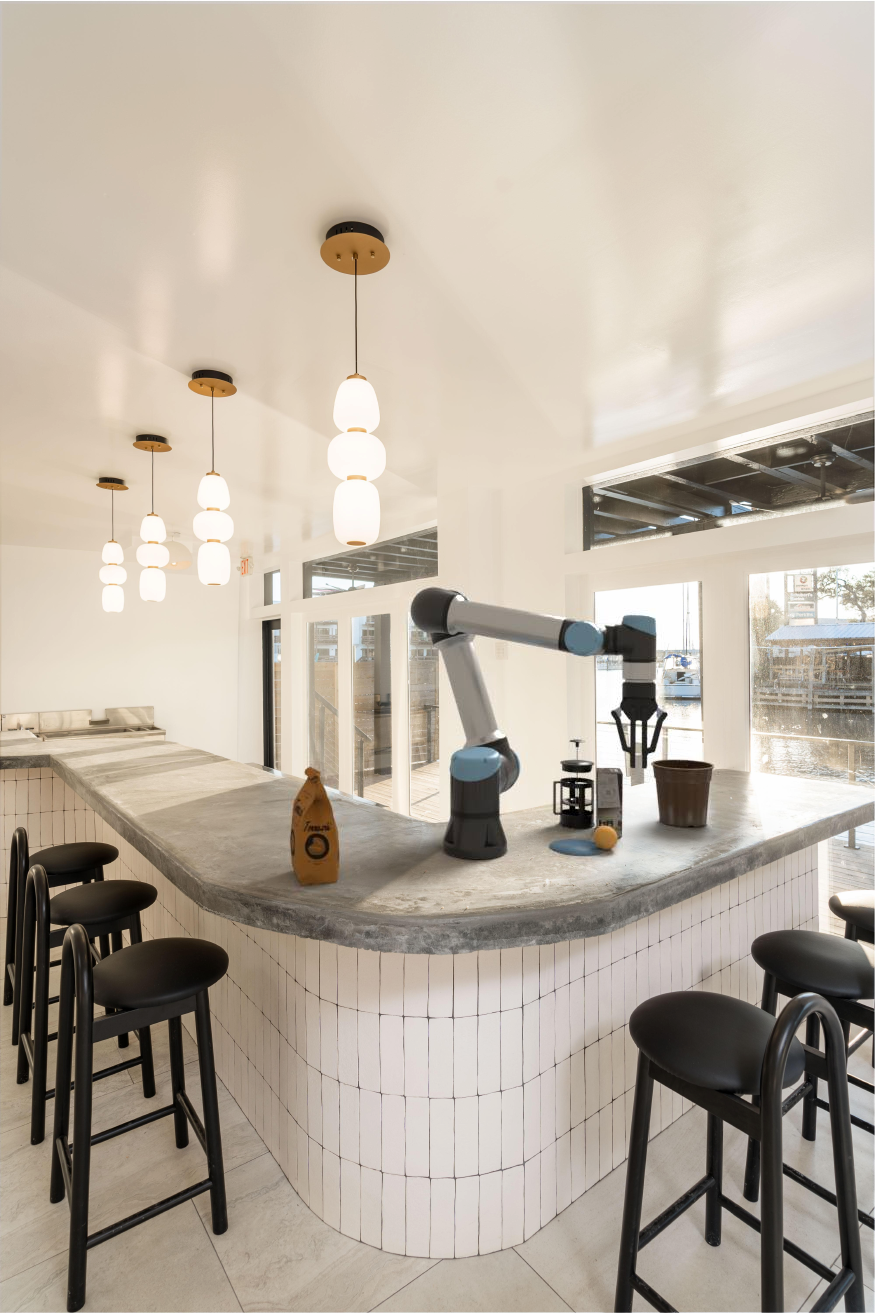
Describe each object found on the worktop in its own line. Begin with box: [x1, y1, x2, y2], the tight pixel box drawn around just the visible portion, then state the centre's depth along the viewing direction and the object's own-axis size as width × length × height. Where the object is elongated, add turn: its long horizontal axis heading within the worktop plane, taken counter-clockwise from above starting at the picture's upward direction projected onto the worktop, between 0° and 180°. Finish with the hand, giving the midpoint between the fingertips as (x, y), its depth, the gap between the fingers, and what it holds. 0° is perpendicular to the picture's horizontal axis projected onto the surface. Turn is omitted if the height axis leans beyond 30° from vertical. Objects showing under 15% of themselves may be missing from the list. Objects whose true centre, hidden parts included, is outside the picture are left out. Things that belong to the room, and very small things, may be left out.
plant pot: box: [650, 759, 715, 828], centre depth 183 cm, size 16×16×16 cm
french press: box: [552, 738, 596, 830], centre depth 180 cm, size 12×9×23 cm
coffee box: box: [595, 767, 624, 838], centre depth 173 cm, size 9×6×16 cm
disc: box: [549, 838, 606, 857], centre depth 159 cm, size 13×13×1 cm
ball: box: [593, 826, 618, 851], centre depth 158 cm, size 6×6×6 cm
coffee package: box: [289, 766, 340, 886], centre depth 139 cm, size 10×12×22 cm
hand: (638, 782), depth 155 cm, fingers closed
